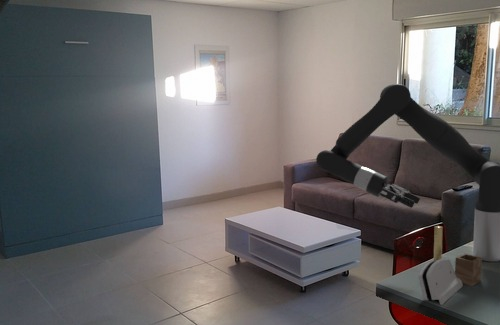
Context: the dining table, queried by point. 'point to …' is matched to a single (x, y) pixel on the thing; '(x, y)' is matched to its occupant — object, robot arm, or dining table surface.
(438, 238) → the pin
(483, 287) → the dining table surface
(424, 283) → the hinge
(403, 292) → the dining table surface
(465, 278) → the pin block
